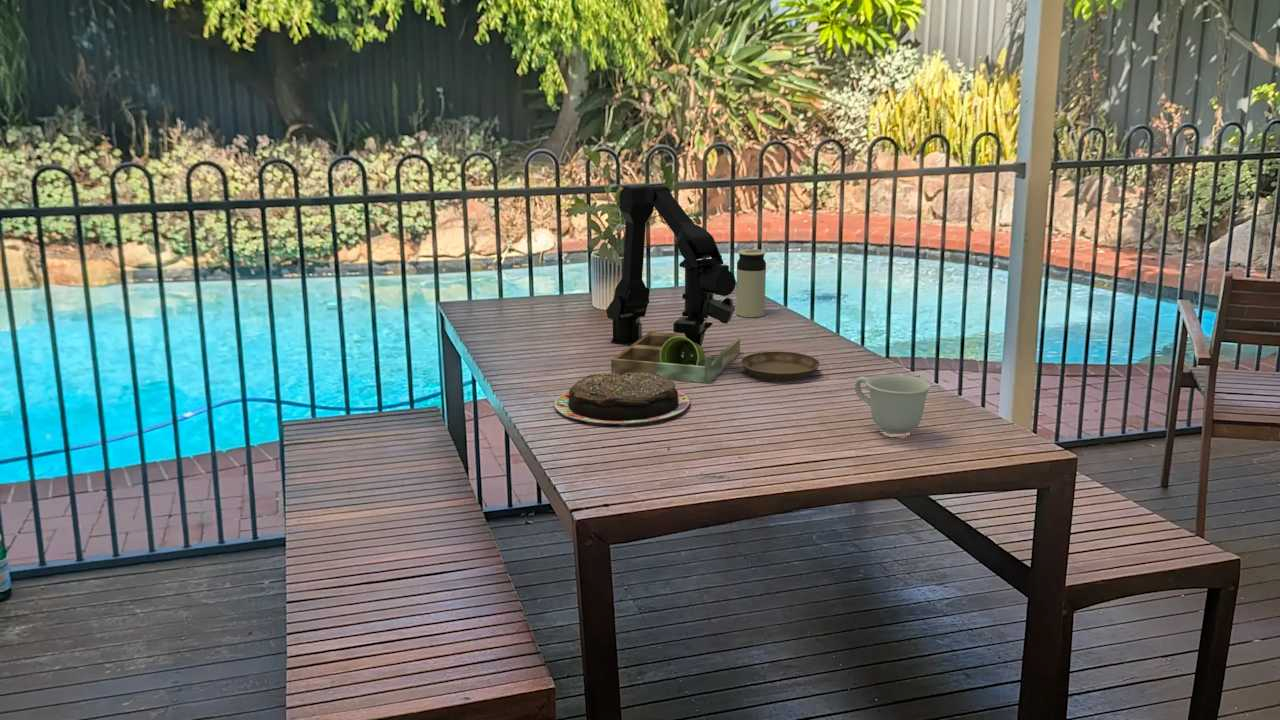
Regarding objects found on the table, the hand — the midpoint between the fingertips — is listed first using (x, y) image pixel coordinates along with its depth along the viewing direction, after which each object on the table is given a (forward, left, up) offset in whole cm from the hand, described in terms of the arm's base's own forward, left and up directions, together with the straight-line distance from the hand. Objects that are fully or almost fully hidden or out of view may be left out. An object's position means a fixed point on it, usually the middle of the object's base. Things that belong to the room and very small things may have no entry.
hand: (696, 354), depth 252 cm
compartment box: (-5, +1, -3) cm, 5 cm away
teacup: (+48, -34, -3) cm, 59 cm away
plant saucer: (+20, 0, -3) cm, 20 cm away
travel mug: (0, +56, -3) cm, 56 cm away
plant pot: (0, -2, 0) cm, 2 cm away
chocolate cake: (-6, -35, -3) cm, 35 cm away
